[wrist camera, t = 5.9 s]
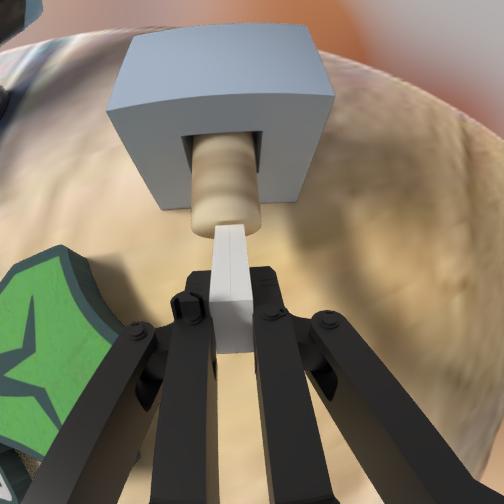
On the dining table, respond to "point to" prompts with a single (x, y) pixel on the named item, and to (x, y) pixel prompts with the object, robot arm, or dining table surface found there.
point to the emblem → (46, 354)
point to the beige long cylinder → (224, 183)
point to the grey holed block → (222, 103)
